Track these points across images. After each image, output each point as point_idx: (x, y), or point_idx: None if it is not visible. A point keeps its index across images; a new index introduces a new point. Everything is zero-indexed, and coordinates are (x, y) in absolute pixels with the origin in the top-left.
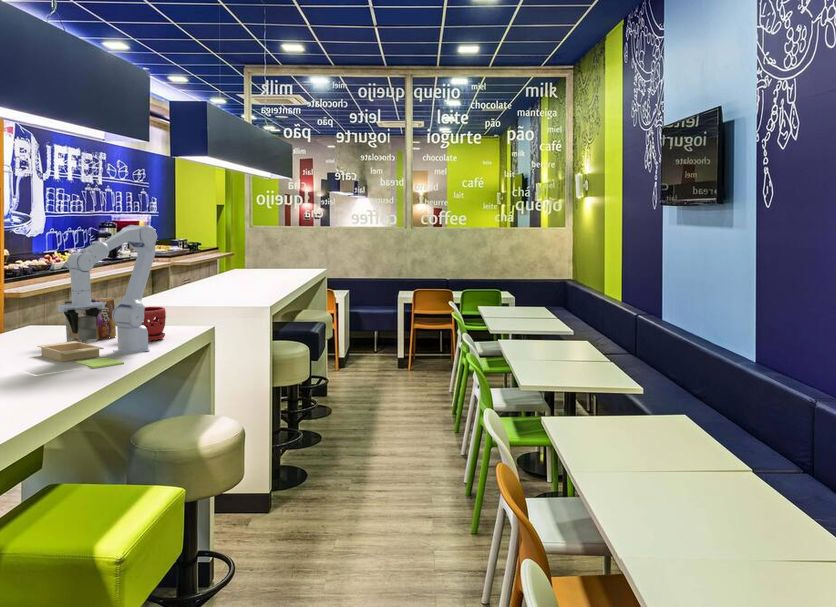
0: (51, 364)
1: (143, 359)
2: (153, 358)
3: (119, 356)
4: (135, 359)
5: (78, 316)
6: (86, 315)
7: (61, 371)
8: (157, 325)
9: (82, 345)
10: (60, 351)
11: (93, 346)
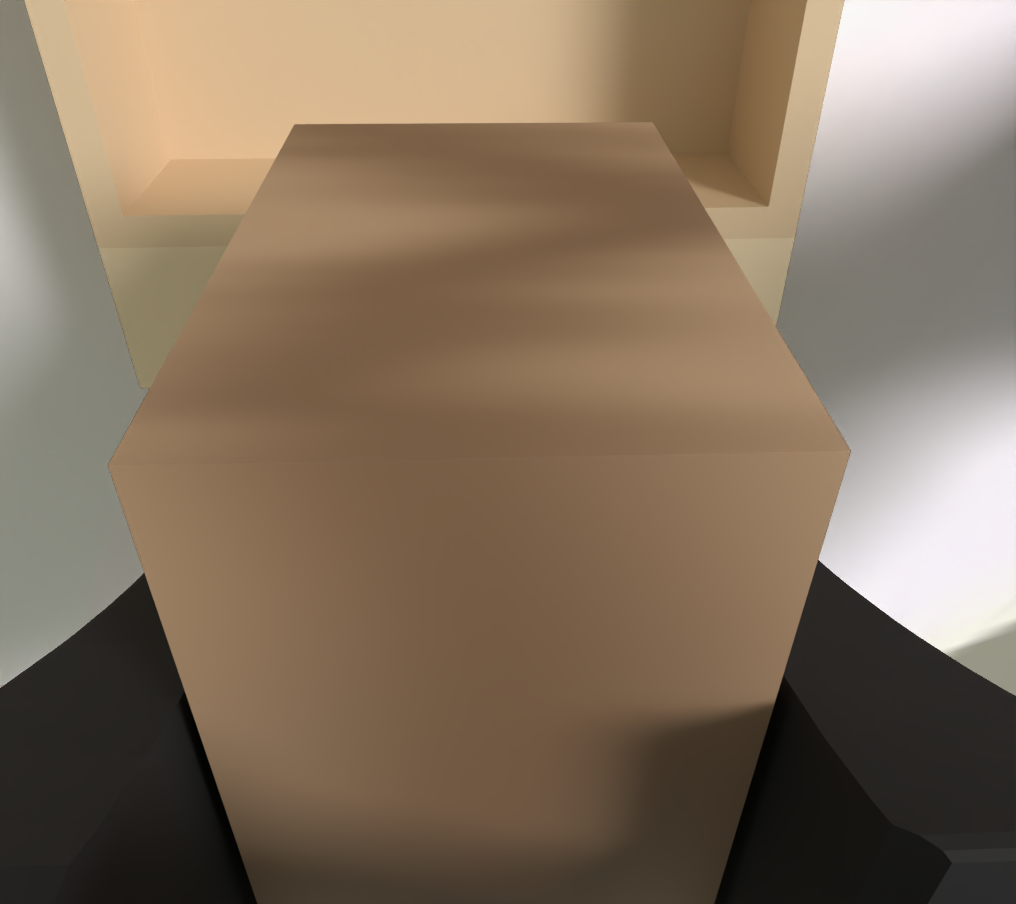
0: (12, 193)
1: (914, 602)
2: (1001, 617)
3: (932, 307)
4: (875, 560)
5: (381, 825)
6: (719, 777)
7: (59, 603)
8: None
9: None
10: (109, 200)
11: (785, 95)
